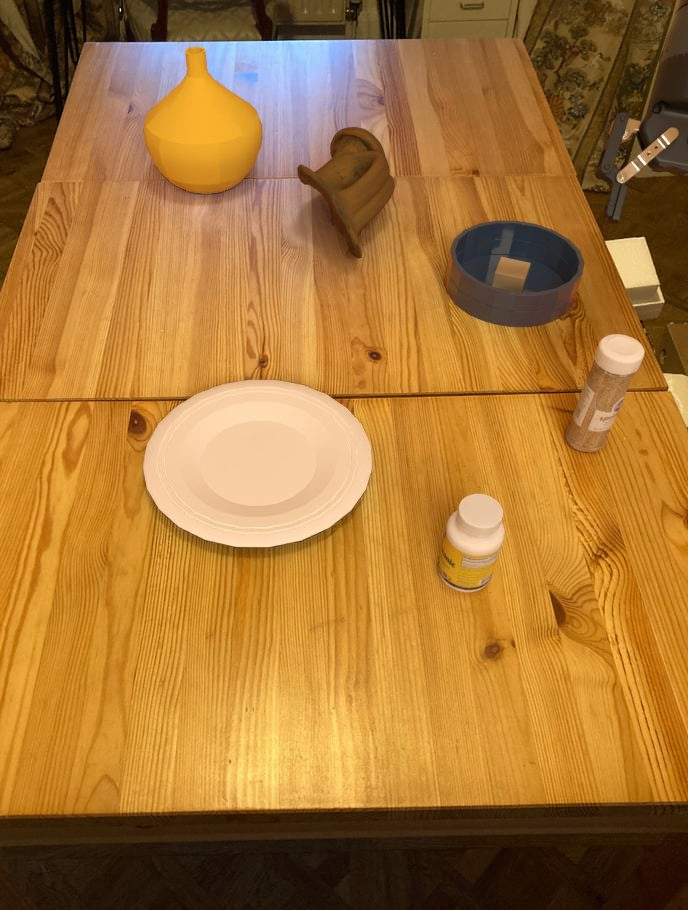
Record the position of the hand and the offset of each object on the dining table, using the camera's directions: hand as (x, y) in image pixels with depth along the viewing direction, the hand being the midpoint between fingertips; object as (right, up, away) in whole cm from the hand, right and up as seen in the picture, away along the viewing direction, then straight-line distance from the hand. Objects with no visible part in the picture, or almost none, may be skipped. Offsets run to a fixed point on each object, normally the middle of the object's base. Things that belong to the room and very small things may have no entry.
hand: (653, 232), depth 80 cm
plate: (-41, -24, +6) cm, 48 cm away
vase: (-52, +25, +45) cm, 73 cm away
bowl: (-8, +1, +26) cm, 27 cm away
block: (-9, +1, +25) cm, 26 cm away
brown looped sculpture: (-30, +15, +37) cm, 50 cm away
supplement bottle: (-20, -35, -3) cm, 41 cm away
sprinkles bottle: (-4, -21, +8) cm, 23 cm away
